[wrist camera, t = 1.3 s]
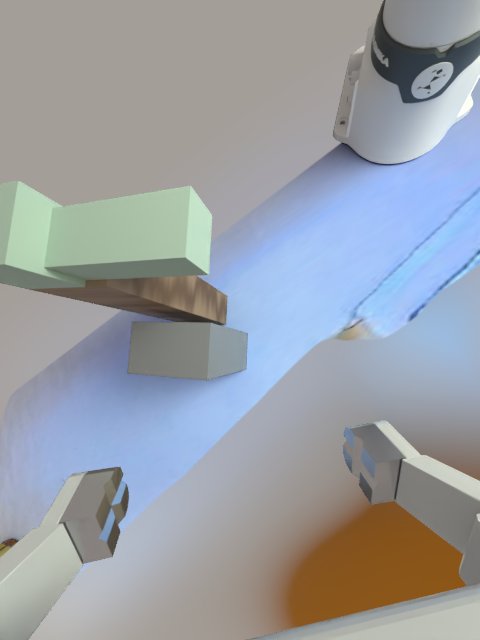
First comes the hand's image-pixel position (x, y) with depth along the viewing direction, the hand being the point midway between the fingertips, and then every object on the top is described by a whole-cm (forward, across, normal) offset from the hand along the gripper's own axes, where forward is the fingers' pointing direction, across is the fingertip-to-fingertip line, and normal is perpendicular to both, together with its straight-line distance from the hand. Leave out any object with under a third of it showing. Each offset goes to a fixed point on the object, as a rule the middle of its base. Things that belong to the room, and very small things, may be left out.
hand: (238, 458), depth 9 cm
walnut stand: (+36, +2, +4) cm, 36 cm away
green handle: (+13, +7, -7) cm, 16 cm away
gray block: (+32, +1, +10) cm, 33 cm away
